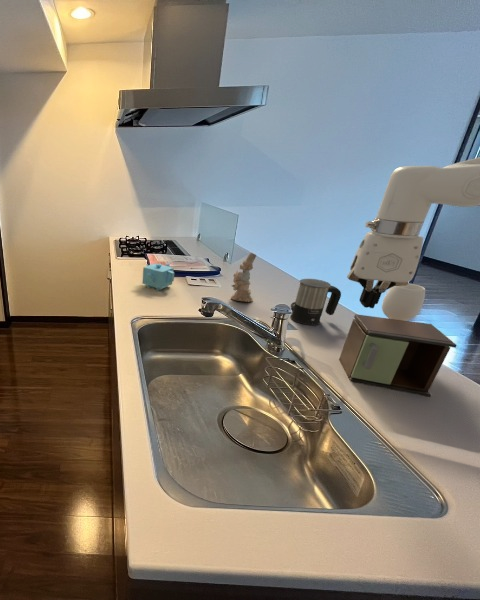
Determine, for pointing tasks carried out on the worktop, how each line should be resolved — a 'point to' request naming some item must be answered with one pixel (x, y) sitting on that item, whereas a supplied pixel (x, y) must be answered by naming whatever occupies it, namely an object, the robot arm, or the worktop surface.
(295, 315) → the milk frother
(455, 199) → the robot arm
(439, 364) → the cupboard
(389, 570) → the worktop surface
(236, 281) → the figurine
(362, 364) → the sliding door
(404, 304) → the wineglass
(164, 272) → the teapot
